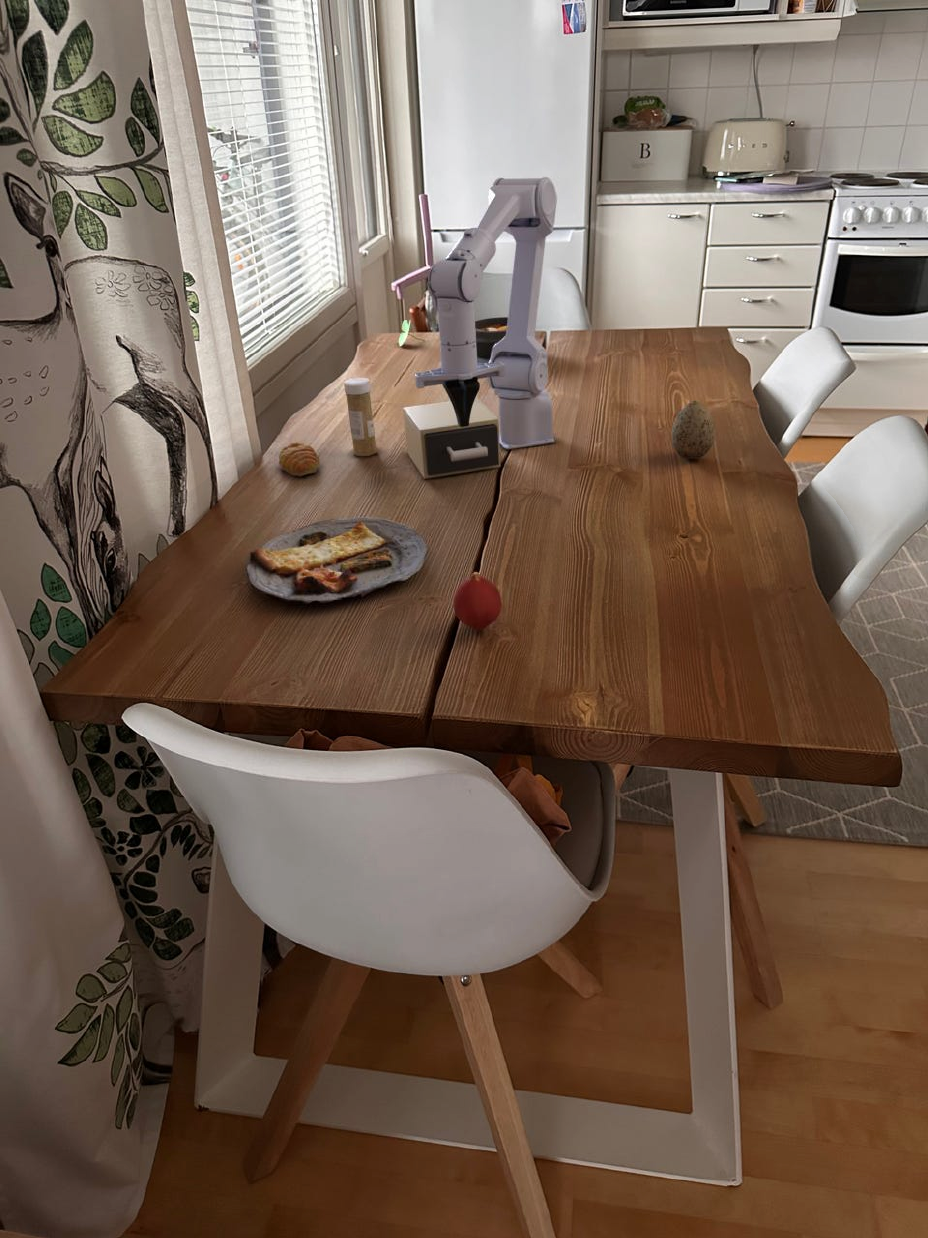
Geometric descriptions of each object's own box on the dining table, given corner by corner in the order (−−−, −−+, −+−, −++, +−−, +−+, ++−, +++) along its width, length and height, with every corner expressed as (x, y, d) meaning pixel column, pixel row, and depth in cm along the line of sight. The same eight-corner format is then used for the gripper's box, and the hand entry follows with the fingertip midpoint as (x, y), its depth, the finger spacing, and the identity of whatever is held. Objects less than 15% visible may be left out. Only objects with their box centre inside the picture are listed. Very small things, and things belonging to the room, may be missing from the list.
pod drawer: (507, 474, 155) (505, 435, 151) (435, 485, 152) (432, 446, 149) (478, 442, 169) (476, 405, 166) (412, 452, 167) (409, 415, 164)
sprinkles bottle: (381, 453, 170) (374, 380, 164) (360, 459, 168) (351, 385, 161) (370, 446, 174) (361, 375, 167) (348, 452, 172) (339, 380, 165)
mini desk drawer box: (500, 466, 160) (498, 418, 156) (424, 478, 158) (420, 430, 153) (478, 442, 172) (476, 397, 168) (407, 453, 169) (403, 407, 165)
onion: (453, 620, 116) (449, 562, 112) (499, 615, 116) (497, 558, 112) (457, 644, 110) (453, 585, 106) (505, 639, 111) (502, 580, 107)
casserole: (539, 372, 211) (539, 334, 206) (458, 375, 212) (456, 338, 208) (538, 344, 232) (538, 310, 228) (465, 348, 234) (463, 314, 230)
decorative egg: (661, 460, 158) (664, 403, 153) (684, 448, 163) (687, 392, 158) (698, 468, 154) (703, 410, 149) (720, 456, 158) (725, 398, 154)
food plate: (277, 630, 116) (272, 605, 114) (228, 561, 134) (224, 539, 132) (454, 578, 125) (452, 554, 124) (386, 520, 143) (384, 499, 142)
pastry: (328, 473, 163) (324, 452, 161) (291, 481, 160) (287, 460, 159) (312, 457, 170) (309, 437, 168) (276, 465, 168) (273, 445, 166)
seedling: (416, 361, 243) (394, 351, 240) (419, 337, 247) (398, 326, 243) (429, 347, 238) (407, 337, 235) (433, 323, 241) (411, 312, 238)
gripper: (418, 352, 141) (426, 438, 148) (509, 340, 144) (512, 425, 150) (408, 342, 147) (416, 425, 153) (496, 331, 149) (499, 413, 156)
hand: (463, 424), depth 152 cm, fingers closed
